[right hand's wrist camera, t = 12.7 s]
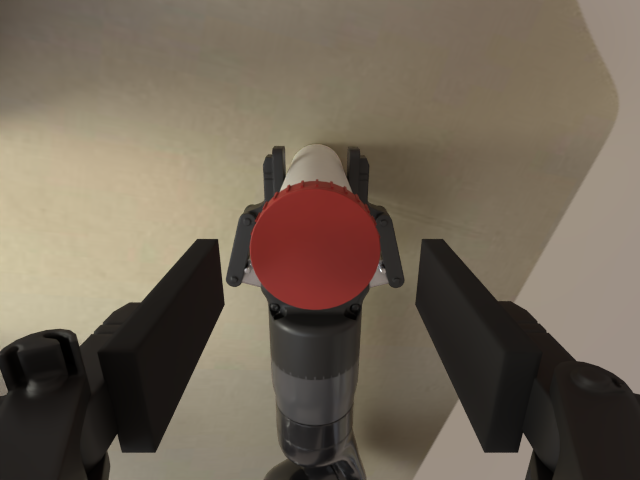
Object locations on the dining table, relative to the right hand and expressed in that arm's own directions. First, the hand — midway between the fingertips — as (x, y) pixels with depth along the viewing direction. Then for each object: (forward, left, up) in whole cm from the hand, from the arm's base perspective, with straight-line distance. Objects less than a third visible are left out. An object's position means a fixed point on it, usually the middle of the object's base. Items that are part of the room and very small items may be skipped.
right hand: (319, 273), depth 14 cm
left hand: (+2, +2, -14) cm, 14 cm away
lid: (0, 0, -2) cm, 2 cm away
